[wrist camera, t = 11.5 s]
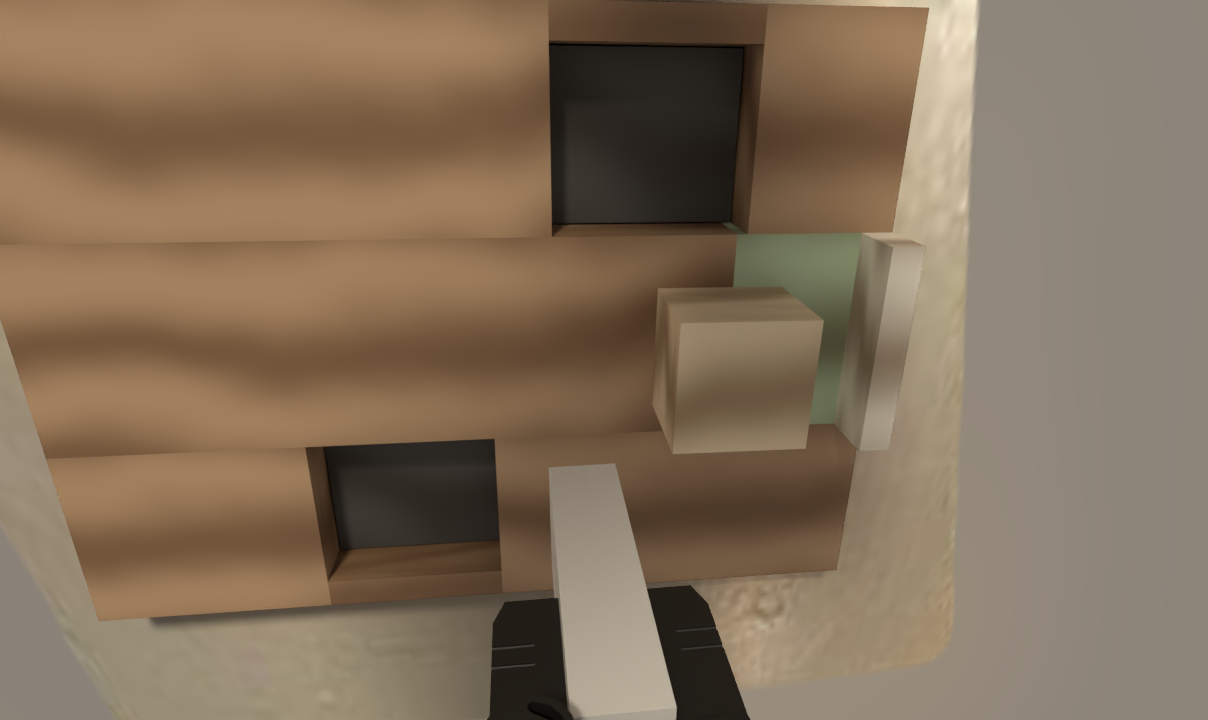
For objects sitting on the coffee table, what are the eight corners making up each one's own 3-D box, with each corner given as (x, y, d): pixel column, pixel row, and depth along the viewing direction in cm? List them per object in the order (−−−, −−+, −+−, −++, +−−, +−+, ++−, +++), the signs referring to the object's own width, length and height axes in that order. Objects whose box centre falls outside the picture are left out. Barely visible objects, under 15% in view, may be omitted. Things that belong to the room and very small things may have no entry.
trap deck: (-48, -8, 28) (-186, -28, 23) (894, 13, 33) (971, 1, 27) (128, 582, 39) (64, 666, 34) (816, 538, 43) (860, 606, 38)
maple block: (657, 288, 33) (680, 323, 28) (781, 286, 34) (823, 320, 29) (652, 404, 35) (672, 454, 31) (768, 400, 36) (805, 448, 31)
